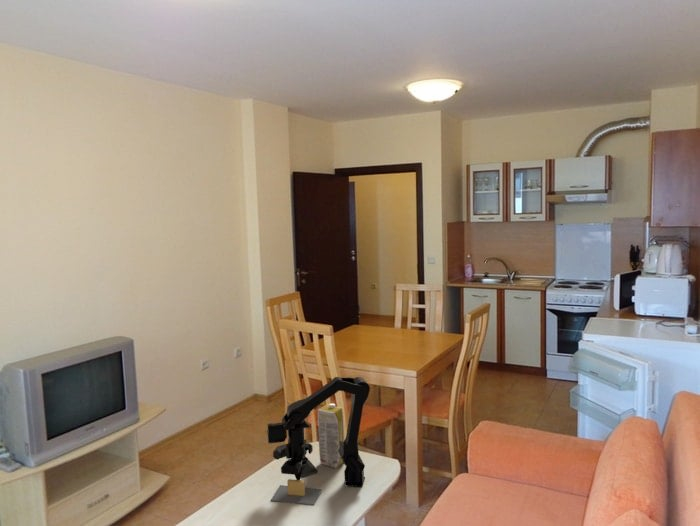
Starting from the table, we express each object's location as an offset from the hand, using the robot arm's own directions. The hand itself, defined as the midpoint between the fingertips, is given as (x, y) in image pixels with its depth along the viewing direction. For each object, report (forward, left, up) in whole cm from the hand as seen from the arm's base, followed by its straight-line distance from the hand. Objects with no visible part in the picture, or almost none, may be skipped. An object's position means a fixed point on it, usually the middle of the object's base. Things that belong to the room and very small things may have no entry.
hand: (298, 480), depth 192 cm
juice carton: (-7, -22, -4) cm, 24 cm away
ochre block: (0, +3, -4) cm, 5 cm away
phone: (+4, -17, -5) cm, 18 cm away
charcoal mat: (0, +3, -4) cm, 5 cm away
